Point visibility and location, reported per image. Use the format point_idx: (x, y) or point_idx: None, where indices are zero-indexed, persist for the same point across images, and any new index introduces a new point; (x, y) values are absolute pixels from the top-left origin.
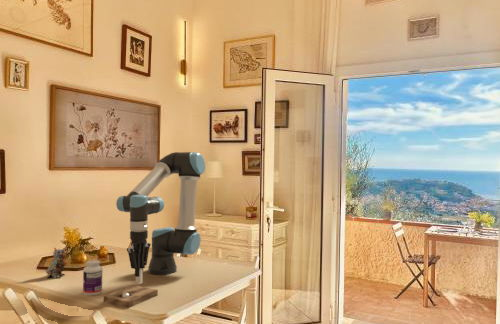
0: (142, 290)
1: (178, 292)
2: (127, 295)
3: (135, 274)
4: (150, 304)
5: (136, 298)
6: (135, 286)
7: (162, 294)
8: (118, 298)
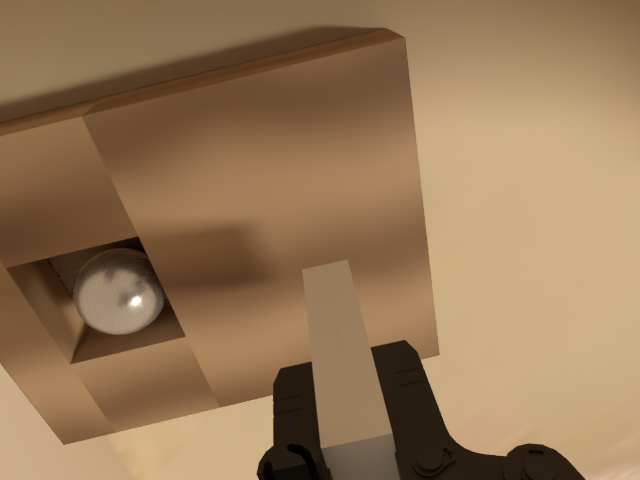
0: None
1: (568, 360)
2: (119, 334)
3: (277, 403)
4: (251, 427)
5: (160, 419)
6: (378, 113)
7: (465, 324)
8: (9, 335)
